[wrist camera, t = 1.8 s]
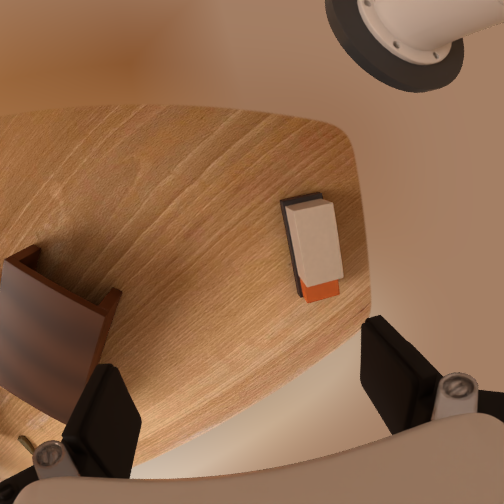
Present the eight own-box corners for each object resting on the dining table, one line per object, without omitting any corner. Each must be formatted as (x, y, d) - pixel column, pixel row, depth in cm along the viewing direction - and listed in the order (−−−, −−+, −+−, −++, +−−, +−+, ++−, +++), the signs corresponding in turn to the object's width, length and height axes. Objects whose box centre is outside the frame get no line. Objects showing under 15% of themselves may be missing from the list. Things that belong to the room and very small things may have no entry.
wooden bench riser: (33, 243, 29) (4, 259, 23) (122, 291, 31) (105, 317, 25) (16, 359, 32) (-4, 383, 26) (88, 399, 35) (75, 429, 29)
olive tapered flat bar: (18, 434, 36) (16, 438, 35) (25, 435, 36) (23, 439, 35) (53, 476, 39) (52, 479, 38) (60, 477, 39) (59, 480, 39)
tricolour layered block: (279, 200, 30) (289, 206, 26) (318, 191, 30) (334, 196, 26) (297, 293, 33) (308, 312, 29) (333, 284, 33) (348, 301, 29)
